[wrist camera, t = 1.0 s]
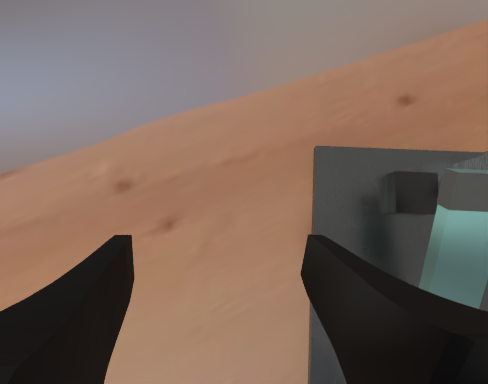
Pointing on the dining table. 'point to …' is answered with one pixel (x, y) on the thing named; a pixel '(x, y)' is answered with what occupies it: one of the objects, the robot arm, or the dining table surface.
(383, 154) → the plate
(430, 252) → the teal rectangular bar
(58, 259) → the dining table surface
